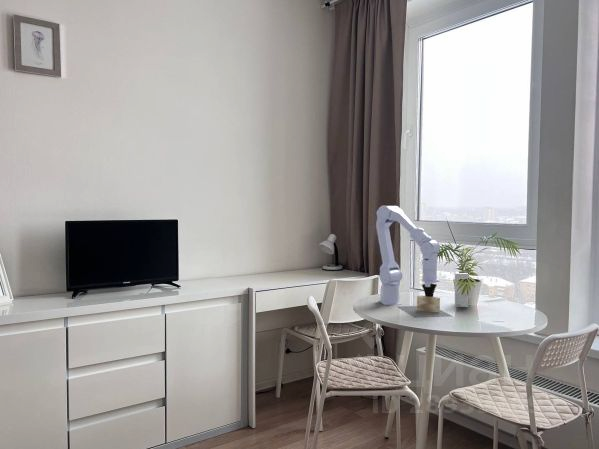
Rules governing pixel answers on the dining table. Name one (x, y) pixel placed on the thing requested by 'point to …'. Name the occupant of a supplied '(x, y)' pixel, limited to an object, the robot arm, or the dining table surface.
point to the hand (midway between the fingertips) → (429, 301)
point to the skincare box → (459, 299)
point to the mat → (422, 312)
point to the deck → (428, 303)
